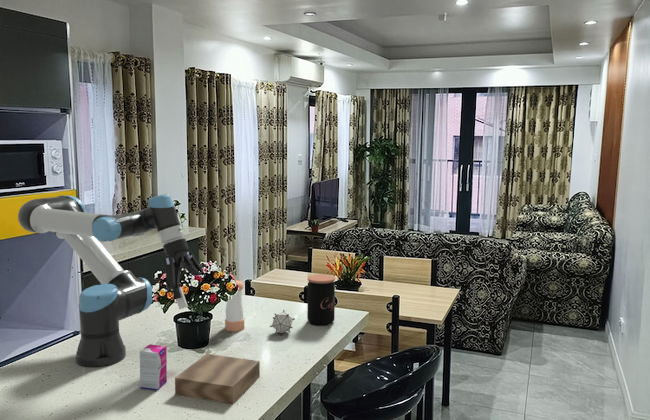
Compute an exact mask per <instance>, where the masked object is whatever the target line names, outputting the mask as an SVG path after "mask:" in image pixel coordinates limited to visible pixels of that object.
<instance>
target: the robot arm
mask: <svg viewBox="0 0 650 420" xmlns="http://www.w3.org/2000/svg"><path fill="white" fill-rule="evenodd" d="M147 204H148V207H145V208H143V209H141V210H137V211H134V212H133V211H132V212H128V213H121V214H116V215H110V214H103V213H93V212H87V211H86V207H85V204H84V203H83V202H82V200H80V199H79V198H78V197H76V196H73V195H58V196H53V197H42V198H34V199H31V200H28V201H26V202H24V204H22V205H21V206H20V209H19V210H18V213H17V221H18V223H19V225H20V226H21V228H22V229H24V230H25V231H28V232H30V233H36V234H46V233H48V232H52V233H54V235H55V236H56V237H57V238H58V239H60V240H61V239H63V240H65V241H66V242H67V243H68V245H69V246H70V247H71V249H72V250H73V251H74V252H75V253H76V254H77V256H78V257H79V258H80V259H81V260H82V262H83V264H84V265H85V266H86V267H87V268H88V269H89V270H90V272H91V273H92V274H93V275H94V276H95V278H96V279H97V280H98V282H99V284H95V285H92V286H90V287H87V288H84V290H82V291H81V293H80V295H79V298H78V299H79V300H78V302H79V303H78V311H79V323H80V324H79V327H80V340H79V342H78V347H77V350H76V354H75V360H76V361H75V362H76V364H78V365H79V366H82V367H88V368H97V367H105V366H109V365H114V364H115V363H116V364H117V363H118V362H120V361H122V360H123V359H125V357H126V355H127V353H126V352H127V350H126V346H125V344H124V341H123V339H122V337H121V333H120V321H122V320H124V319H127V318H129V317H132V316H134V315H138V314H141V313H142V312H144V311H146V310H147V309H148V308H150V306H151V305H152V302H153V300H154V298H153V299H152V289H153V287H152V285H151V283H150V281H149V280H148V279H146V278H144V277H139V276H138V277H136V276H135V274H134V273H133V272H132V271H131V270H124V268H123V267H122V266H121V265H120V264H119V263H118V261H117V260H116V258H115V257H114V256H113V255H112V254H111V253H110V251H109V250H108V249H107V248H106V247H105V245H104V244H103V243H104V242H113V241H116V240H120V239H123V238H128V237H129V238H130V237H138V236H143V235H145V234H146V233H148V232H150V231H154V230H156V231H157V233H158V234H157V235H158V236H159V240H160V242H161V244H163V246H162V248H163V251H164V253H165V256H169V257H166V258H165V259H163V261H164V266H165V279H166V280H165V282H166V289H168V290H169V291H172V293H173V295H174V298H175V299H176V304H177V306H178V310H181V309H184V308H188V307H189V306H188V303H187V300H186V297H185V294H184V291H183V287H182V286H180V282H181V273H182V270H183V269H185V270H186V271H187V272H188V274H190V275H191V276H192V275H201V272H202V273H203V271H204V269H203V267H202V266H201V265H200V263H199V261H198V259H197V258H196V256H195V255H194V253H193V251H187V250H188V249H189V246H188V242H187V239H186V238H184V237H185V234H184V231H183V228H182V225H181V223H180V221H179V220H180V219H179V217H178V213H177V211H176V206H175V204H174V202H173V199H172V197H171V195H170V194H168V193H165V194H159V195H156V196H153V197H151V198H149V199H148V200H147ZM102 242H103V243H102ZM199 271H200V272H199ZM204 278H206V273H205V274H204Z"/></svg>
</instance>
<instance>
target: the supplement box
mask: <svg viewBox="0 0 650 420" xmlns="http://www.w3.org/2000/svg"><path fill="white" fill-rule="evenodd" d="M167 353H168V351H167V346H166V345H159V344H152V343H151V344H150V343H149V344H148V345H146V346H145V347H143V348H142V349H141V350H140V351H139V389H140V390H149V391H158V390H160V389H161V388H162V387H164V385H165V384H166V383H167V382H168V378H167V377H168V375H167V374H168V372H167V371H168V370H167V369H168V368H167V364H168V363H167Z"/></svg>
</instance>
